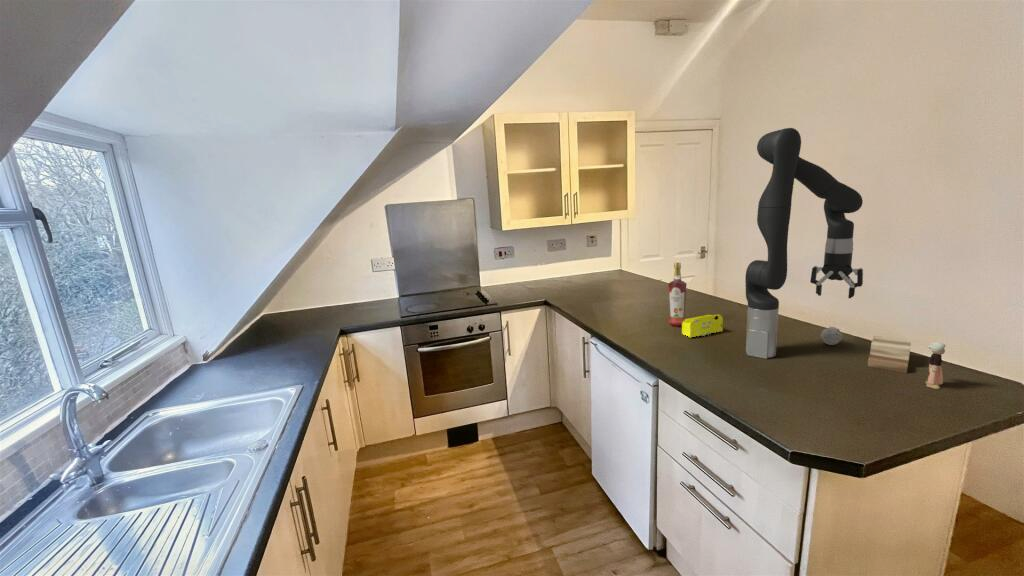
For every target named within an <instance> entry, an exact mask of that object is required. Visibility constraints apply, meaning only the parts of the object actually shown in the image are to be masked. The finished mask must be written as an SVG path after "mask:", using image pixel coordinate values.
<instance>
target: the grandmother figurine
mask: <svg viewBox="0 0 1024 576" xmlns="http://www.w3.org/2000/svg"><path fill="white" fill-rule="evenodd" d="M927 348H928V349H929V350H931V353H932V354H931V355H930V357H929V361H928V363H929V364H928V365H929V366H928V371H929V375H928V376H927V377H928V378H927V380H926V381H925V384H926V387H927V388H932V389H935V390H939V389H941V386H940V385H942V384H944V376H943V375H944V374H943V368H942V363H943V362H942V361H943V360H942V357H943V354H945V352H946V350H945V348H946V344H945V343H943V342H938V341H935V342H933V343H931V344H930V345H928V347H927Z"/></svg>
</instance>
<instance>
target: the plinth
mask: <svg viewBox="0 0 1024 576" xmlns="http://www.w3.org/2000/svg"><path fill="white" fill-rule="evenodd" d="M911 345H912V340H909V339H908V340H907V339H900V338H894V337H884V336H878V335H874V336H873V337H872V340H871V343H870V351H869V356H868V360H867V367H869V368H874V369H881V370H885V371H891V372H897V373H903V374H908V373H907V372H908V367H909V360H910V353H911Z"/></svg>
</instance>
